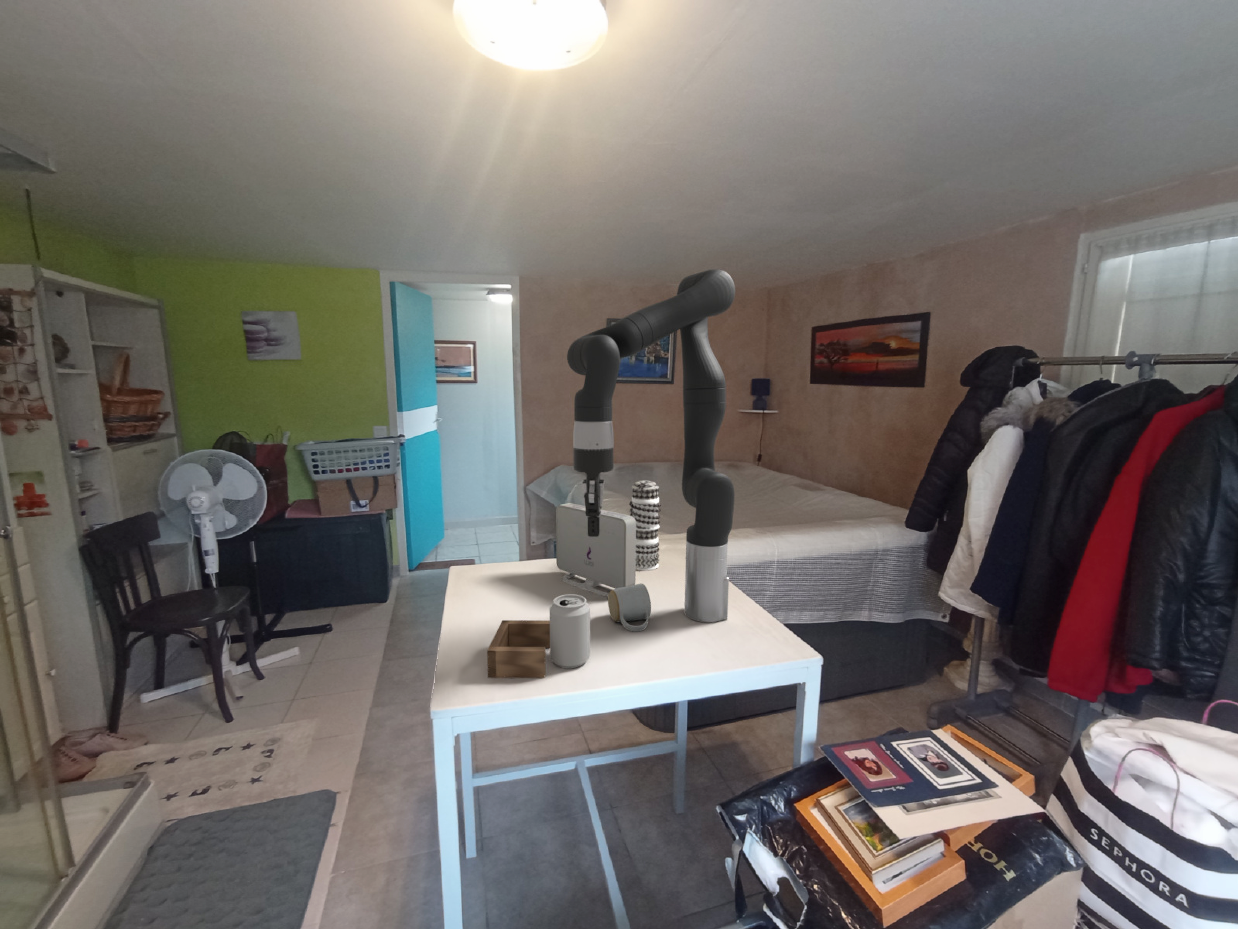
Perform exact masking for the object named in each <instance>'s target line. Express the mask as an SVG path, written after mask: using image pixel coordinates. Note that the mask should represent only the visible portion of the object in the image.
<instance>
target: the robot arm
mask: <svg viewBox="0 0 1238 929" xmlns="http://www.w3.org/2000/svg"><path fill="white" fill-rule="evenodd" d="M735 297H736V285H735V282H734V279H733V278H732V277H731V275H730V274H729V273H728V272H727V271H725V270H722V269H719V268H717V269H716V268H714V269H713V268H712V269H707V270H704V271H700V272H696V273H693V274H690V275H688V276H685V277H683V279H681V281H680V283H679V285H678V287H677V292H676V295H675V296H672V297H669V298H667V299H665V300H664V299H663V300H661V301H660V302H656V303H654V304H651V305H648V306H646V307H643V308H641V309H638V310H637V311H635V312H632V313H629V315H626V316H625V317H623V318H621V319H619V320H617V321H616V322H614V323H612V324H610V325H608V326H606V327H603V328H600V329H597V330H594V331H592V332H589V333H587V334H585V335H582V336H580V337H579V338H577V339H575V340H574V341H572V343H571V344H570V346H569V348H568V349H567V354H566V359H567V363H568V366H569V368H570V369H571V370H572V371H573V372H574V373H576V374H578V375H580V376H584V377H585V378H584V382H583V387H582V388H581V389H579V390H578V391H577V392H576V393H575V394H574V404H573V406H574V407H573V408H574V423H573V424H574V426H573V430H572V431H573V432H572V433H573V434H572V435H573V436H572V437H573V438H572V439H573V445H572V446H573V449H572V450H573V454H572V456H573V457H572V458H573V459H572V460H573V463H572V464H573V465H572V466H573V470H574V471H575V472H578V473H585V474H586V477H585V478H584V479H583V481H582V483H581V484H582V491H583V506H585V509H586V512H585V514H586V516H587V517H588V536H589V537H598V536H599V533H600V516H601V511H600V510H602V506H603V501H604V489H605V479H604V478H603V479H601V473H608V472H611V471H613V469H614V446H615V445H614V439H615V438H614V427H613V396H614V392H615V389H616V386H617V385H616V384H617V380H618V376H619V372H620V366H621V359H623V358H628V357H632V356H634V355H636V354H638V353H640V352H641V351H643V350H645V349H647V348H648V347H650V346H653V345H654V344H655V343H658V342H659V341H661V340H663V339H664V338H666V337H668V336H669V335H671V334H674V333H675V332H677V331H680V332H679V333H680V341H681V342H680V343H681V355H682V358H681V359H682V405H683V406H682V407H683V434H684V435H683V437H684V452H683V466H682V480H681V481H682V482H681V491H682V496H683V499H684V500H685V502H686V503H687V504H688V505H690V506H691V507H693V508H695V517H694V524H692V525H690V526H688V527H687V529H686V537H685V538H686V539H685V540H686V541H685V542H686V543H685V547H686V548H685V549H686V550H685V572H684V573H685V574H684V575H685V578H684V579H685V580H684V581H685V583H684V615H685V616H686V617H688V618H689V619H691V620H693V621H697V622H702V623H711V622H712V623H715V622H720V621H722V620H728V613H729V587H730V578H729V577H728V574H727V572H728V548H729V547H728V544H729V535H730V534H731V531H732V528H733V520H734V509H735V508H734V507H735V488H734V483H733V481H732V480H731V478H730V476H728V475H726V474H724V473H722V472H720V471H719V472H718V471H716V468H715V467H716V466H715V446H716V439H717V438H718V437H717V436H718V433H719V432H720V429H721V426H722V423H723V421H724V417H725V414H726V409H727V408H726V407H727V388H726V387H727V386H726V385H727V384H726V378H725V374H724V372H723V369H722V367H721V365H720V363H719V361H718V359H717V358H716V356H715V354H714V352H713V349H712V347H711V344H710V340H709V328H708V320H709V318H710V317H716V316H718V315H721V314H723V313H725V312H727V311H728V310H729V309H730V307H731V306H732V305H733V303H734V300H735Z"/></svg>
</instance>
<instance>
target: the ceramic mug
mask: <svg viewBox="0 0 1238 929" xmlns="http://www.w3.org/2000/svg"><path fill="white" fill-rule="evenodd" d="M608 593H609V595H608V596H607V606H608V610H609V615H610V618H611V620H613V621H614V622H617V623H621V625H623V627H624V628H625V629H627V631H631V632H640V631H643V630H645V629H646V628H647V627H648V624H649V619H650V616H651V614H652V601H651V597H650V593H649V591H648V588H647V586H646V585H645V584H644V583H643V582H642V583H635V585H632V586H627V587H621V588H617V589H615V588H613V589H612V590H609V592H608ZM641 620H645V621H644V622H643V623H642V624H641V625H633V624H632V625H631V624H629V623H628V622H629V621H630V622H631V621H641Z"/></svg>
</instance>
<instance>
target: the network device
mask: <svg viewBox="0 0 1238 929" xmlns="http://www.w3.org/2000/svg"><path fill="white" fill-rule="evenodd" d="M600 511H601V516H600V533H599V536H598V537H589V536H588V517H587V516H586V514H585V512H586V509H585V505H581V504H577V503H572V502H567V503H564V504H559V505H557V506H556V507H555V534H556V535H555V538H556V539H555V540H556V541H555V542H556V545H555V546H556V547H555V549H556V550H555V553H556V555H555V556H556V558H555V561H556V567H557V569H558V570H559V571H562V572H563V571H564V572H565V573H568V574H565V575H564V576H562V581H563V582H564V583H566V582H567V583H566V584H569V585H572V586H574V585H575V587H577V588H580V589H583V590H586V591H589V592H591V593H594V594H596V595H600V596H603V597H608V595H609V593H610V592H604V591H603V590H599V589H597V588H596V587H597V586H601V585H604V586H606V587H610V588H613V589H617V588H621V587H627V586H632V585H636V573H637V572H636V520H635V518H634V517H632V516H630V515H628V514H623V513H619V512H615V511H610V510H605V509H601V510H600ZM575 575H577V576H578V577H581V578H584V579H585V581H584V582H577V581H574V580H572V579H570V578H574V577H577V576H575ZM573 576H574V577H573ZM567 578H568V579H567Z"/></svg>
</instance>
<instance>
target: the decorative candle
mask: <svg viewBox="0 0 1238 929" xmlns="http://www.w3.org/2000/svg"><path fill="white" fill-rule="evenodd" d="M659 488H660V486H658V485H657V483H656V482H655V481H653V480H648V479H647V480H645V479H643V480H637V481H635V482H634V484H633V485H632V486H631V489H632V495H631V500H630V501H629V506H630V508H629V512H630V515H629V516H632V517H634V518H635V520H636V570H637V571H643V572H644V571H645V572H646V571H654V570H656V568H657V569H658V568H659V567H660V565H659V562H660V559H659V558H660V554H659V551H660V548H659V547H660V542H659V529H660V527H661V526H660V525H659V524H661V521H660V518H661V515H659V513H660V512H662V510H661V508H660V507H661V506H662V504H661V503H660V497H659V490H660V489H659Z"/></svg>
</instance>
